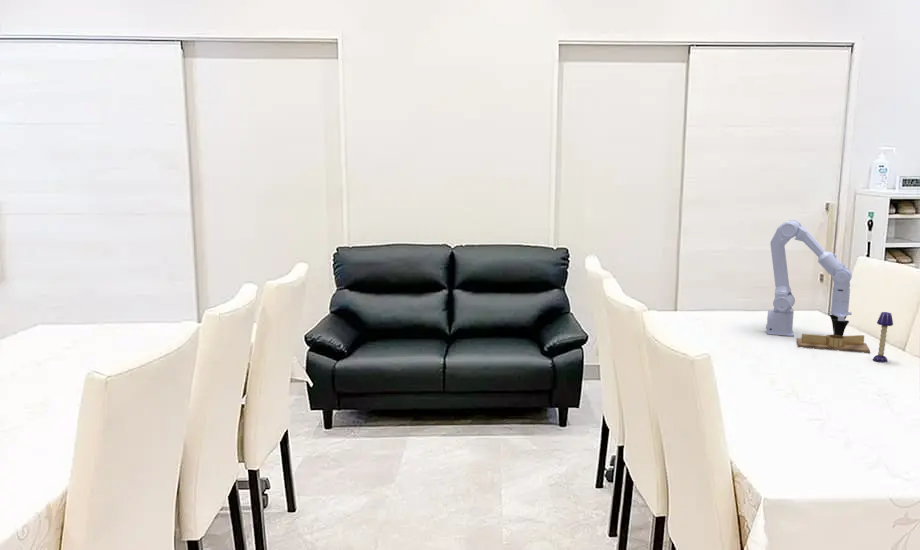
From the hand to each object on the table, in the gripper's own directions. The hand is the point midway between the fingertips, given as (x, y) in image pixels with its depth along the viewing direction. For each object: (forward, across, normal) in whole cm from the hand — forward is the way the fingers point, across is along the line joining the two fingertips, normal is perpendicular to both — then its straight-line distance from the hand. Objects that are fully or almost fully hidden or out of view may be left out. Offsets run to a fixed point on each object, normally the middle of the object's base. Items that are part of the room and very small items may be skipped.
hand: (837, 335), depth 274 cm
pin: (+2, 0, 0) cm, 2 cm away
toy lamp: (+2, -26, -11) cm, 28 cm away
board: (+2, -11, +3) cm, 12 cm away
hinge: (+1, -12, +3) cm, 12 cm away
